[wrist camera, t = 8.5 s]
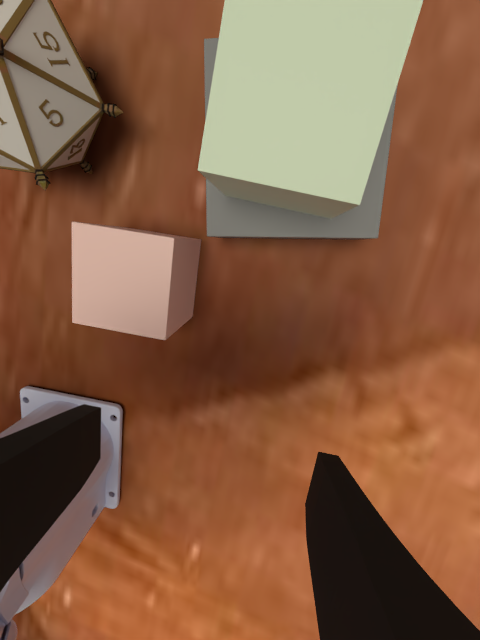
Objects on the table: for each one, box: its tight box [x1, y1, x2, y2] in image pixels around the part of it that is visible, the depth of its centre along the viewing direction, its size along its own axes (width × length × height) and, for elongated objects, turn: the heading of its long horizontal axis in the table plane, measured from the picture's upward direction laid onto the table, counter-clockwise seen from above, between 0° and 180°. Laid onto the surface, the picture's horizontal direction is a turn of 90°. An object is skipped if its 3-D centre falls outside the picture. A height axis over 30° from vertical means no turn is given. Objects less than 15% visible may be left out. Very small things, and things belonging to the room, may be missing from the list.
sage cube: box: [198, 0, 423, 219], centre depth 11 cm, size 5×5×5 cm
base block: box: [204, 38, 398, 239], centre depth 15 cm, size 8×8×4 cm
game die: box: [0, 0, 124, 191], centre depth 14 cm, size 9×8×10 cm
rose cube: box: [72, 222, 201, 340], centre depth 17 cm, size 5×5×5 cm
